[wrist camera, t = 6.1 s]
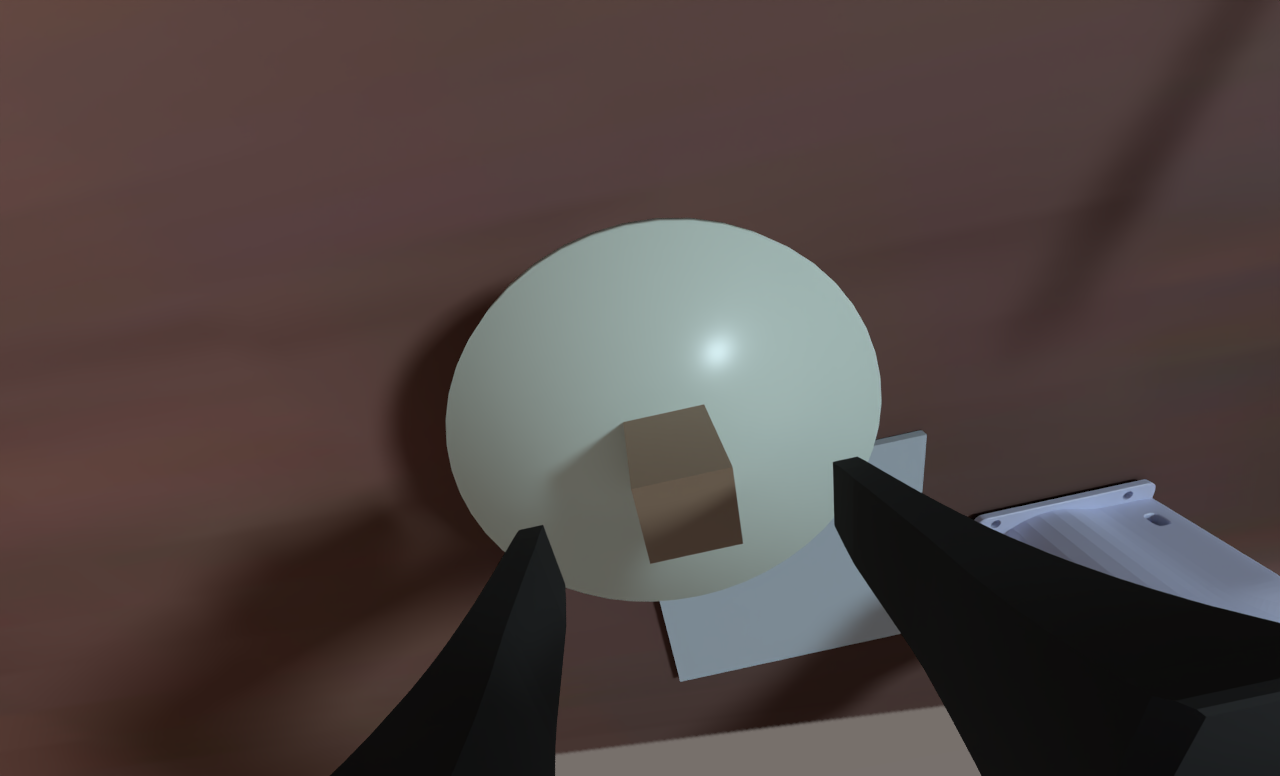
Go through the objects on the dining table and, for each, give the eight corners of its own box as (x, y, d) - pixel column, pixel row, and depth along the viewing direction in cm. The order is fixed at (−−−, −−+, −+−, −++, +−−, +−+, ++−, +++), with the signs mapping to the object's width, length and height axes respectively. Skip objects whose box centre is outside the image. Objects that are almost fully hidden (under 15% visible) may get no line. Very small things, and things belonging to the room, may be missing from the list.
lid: (872, 167, 13) (982, 172, 10) (866, 542, 20) (932, 635, 16) (376, 277, 13) (292, 325, 10) (527, 616, 20) (511, 726, 16)
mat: (921, 430, 23) (926, 434, 23) (907, 625, 29) (911, 631, 29) (632, 493, 23) (633, 498, 23) (679, 675, 29) (680, 681, 29)
